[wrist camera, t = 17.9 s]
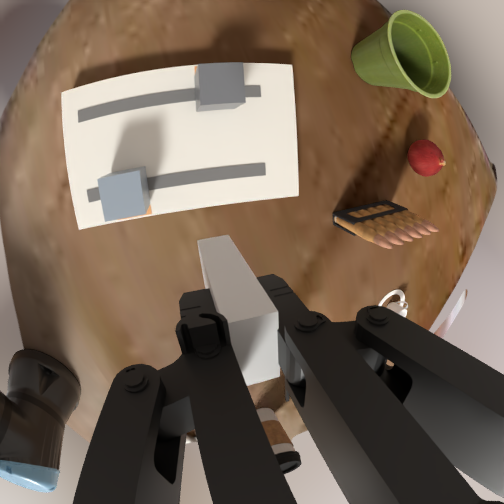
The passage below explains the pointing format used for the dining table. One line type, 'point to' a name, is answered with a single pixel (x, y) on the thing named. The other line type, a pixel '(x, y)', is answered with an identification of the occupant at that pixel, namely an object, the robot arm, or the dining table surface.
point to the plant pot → (404, 56)
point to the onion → (425, 157)
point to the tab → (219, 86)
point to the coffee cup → (279, 441)
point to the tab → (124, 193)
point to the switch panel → (181, 140)
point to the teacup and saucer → (394, 305)
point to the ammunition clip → (383, 223)
